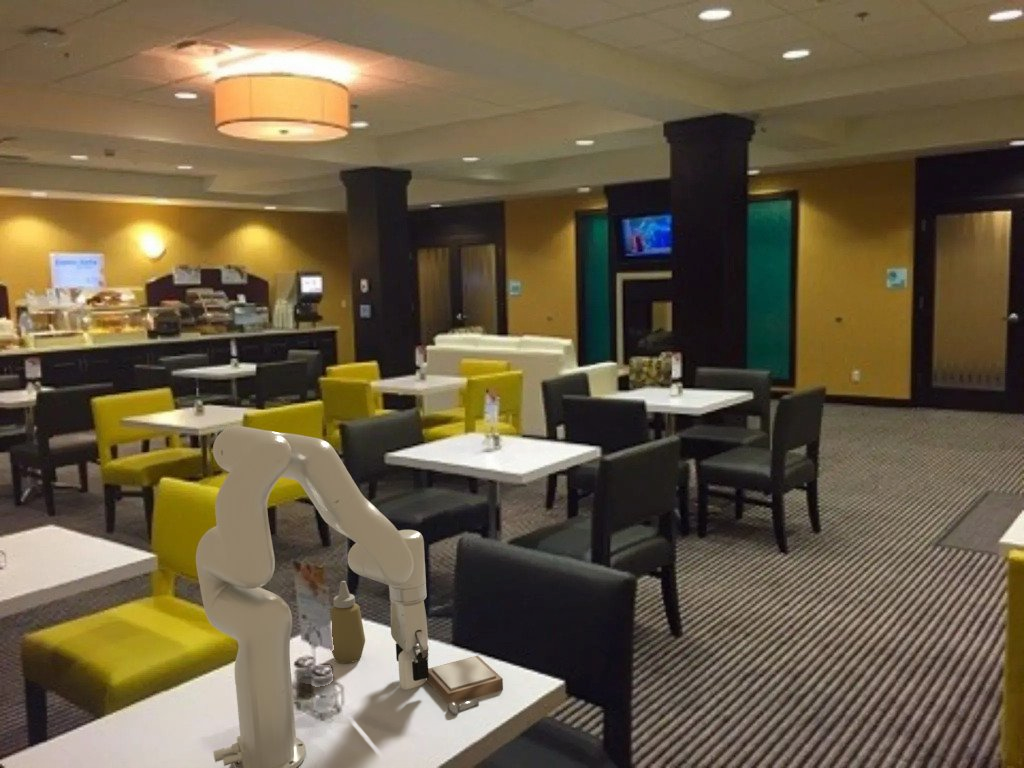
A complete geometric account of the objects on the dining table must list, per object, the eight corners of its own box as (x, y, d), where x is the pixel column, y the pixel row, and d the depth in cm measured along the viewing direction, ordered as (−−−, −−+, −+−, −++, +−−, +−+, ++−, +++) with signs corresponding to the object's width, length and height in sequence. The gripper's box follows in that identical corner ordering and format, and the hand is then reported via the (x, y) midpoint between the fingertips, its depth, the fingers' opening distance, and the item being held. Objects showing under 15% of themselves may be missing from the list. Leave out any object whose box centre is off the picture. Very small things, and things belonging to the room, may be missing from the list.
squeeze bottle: (328, 653, 197) (322, 578, 194) (363, 647, 199) (358, 573, 196) (331, 669, 189) (326, 590, 186) (368, 662, 191) (363, 585, 189)
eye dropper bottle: (427, 689, 178) (424, 634, 177) (400, 693, 177) (397, 638, 176) (425, 679, 183) (422, 626, 181) (399, 683, 182) (396, 629, 180)
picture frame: (449, 707, 171) (448, 691, 170) (426, 682, 181) (425, 667, 181) (503, 692, 176) (502, 676, 176) (478, 668, 187) (477, 653, 186)
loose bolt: (451, 719, 168) (454, 712, 166) (446, 706, 169) (449, 700, 167) (478, 710, 171) (482, 704, 169) (473, 698, 172) (476, 692, 170)
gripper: (376, 581, 183) (381, 657, 185) (405, 609, 168) (410, 691, 170) (410, 574, 186) (414, 649, 189) (441, 601, 171) (445, 681, 174)
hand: (412, 669), depth 179 cm, fingers open, 9 cm apart
